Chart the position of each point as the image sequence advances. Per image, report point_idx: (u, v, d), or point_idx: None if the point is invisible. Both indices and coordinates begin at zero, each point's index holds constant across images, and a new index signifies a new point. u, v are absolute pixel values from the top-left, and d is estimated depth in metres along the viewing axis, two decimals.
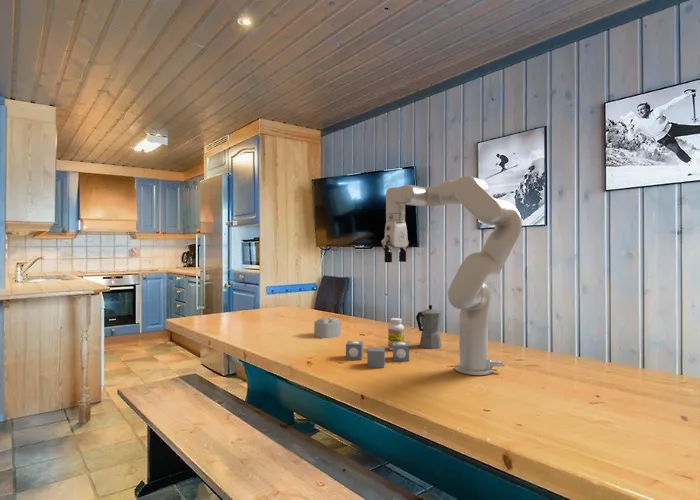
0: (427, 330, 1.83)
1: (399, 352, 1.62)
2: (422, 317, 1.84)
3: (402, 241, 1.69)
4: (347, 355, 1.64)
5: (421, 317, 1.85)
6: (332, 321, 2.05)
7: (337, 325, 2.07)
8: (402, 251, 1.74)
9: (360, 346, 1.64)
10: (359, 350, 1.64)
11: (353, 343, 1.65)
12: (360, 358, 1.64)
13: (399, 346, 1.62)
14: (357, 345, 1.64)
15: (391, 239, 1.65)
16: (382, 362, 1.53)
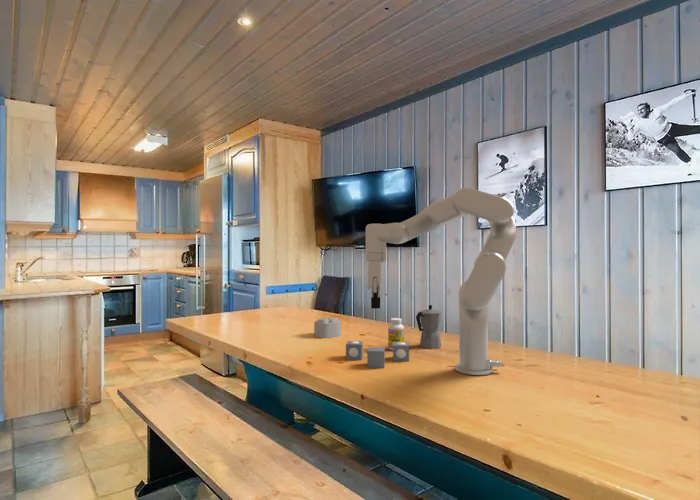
0: (427, 330, 1.83)
1: (399, 352, 1.62)
2: (422, 317, 1.84)
3: None
4: (347, 355, 1.64)
5: (421, 317, 1.85)
6: (332, 321, 2.05)
7: (337, 325, 2.07)
8: None
9: (360, 346, 1.64)
10: (359, 350, 1.64)
11: (353, 343, 1.65)
12: (360, 358, 1.64)
13: (399, 346, 1.62)
14: (357, 345, 1.64)
15: None
16: (382, 362, 1.53)
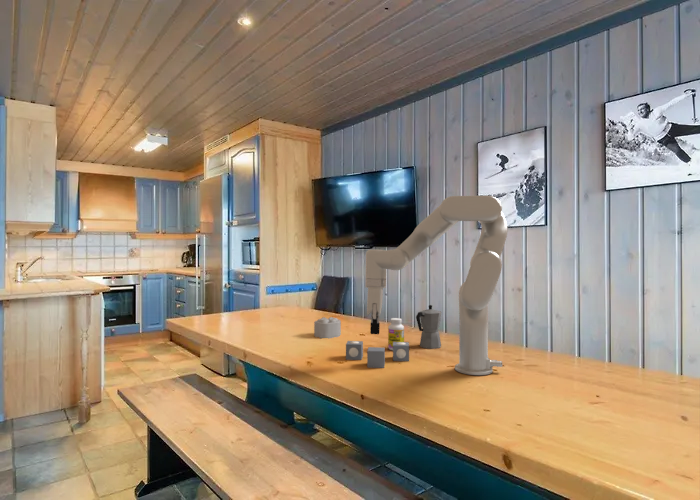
0: (427, 330, 1.83)
1: (399, 352, 1.62)
2: (422, 317, 1.84)
3: None
4: (347, 355, 1.64)
5: (421, 317, 1.85)
6: (332, 321, 2.05)
7: (337, 325, 2.07)
8: None
9: (360, 346, 1.64)
10: (359, 350, 1.64)
11: (353, 343, 1.65)
12: (360, 358, 1.64)
13: (399, 346, 1.62)
14: (357, 345, 1.64)
15: None
16: (382, 362, 1.53)
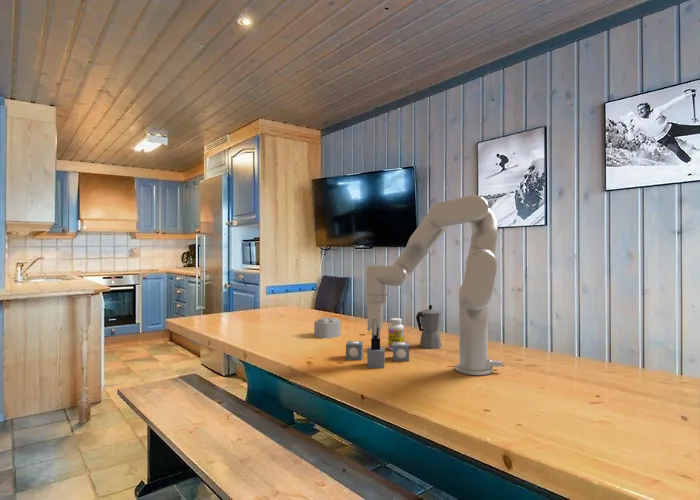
0: (427, 330, 1.83)
1: (399, 352, 1.62)
2: (422, 317, 1.84)
3: None
4: (347, 355, 1.64)
5: (421, 317, 1.85)
6: (332, 321, 2.05)
7: (337, 325, 2.07)
8: None
9: (360, 346, 1.64)
10: (359, 350, 1.64)
11: (353, 343, 1.65)
12: (360, 358, 1.64)
13: (399, 346, 1.62)
14: (357, 345, 1.64)
15: None
16: (382, 362, 1.53)
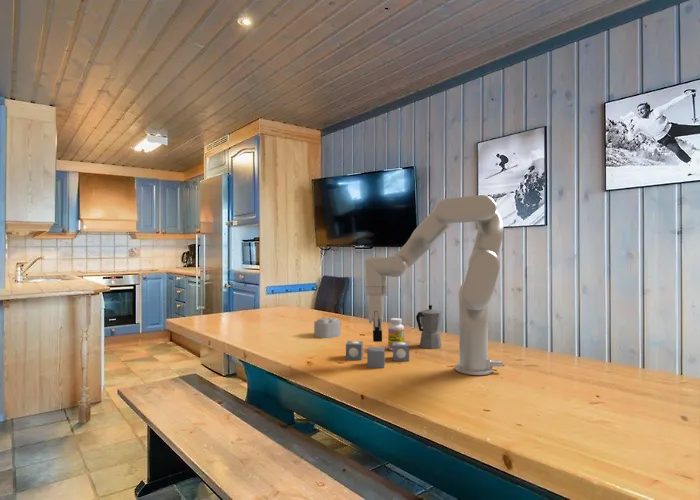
0: (427, 330, 1.83)
1: (399, 352, 1.62)
2: (422, 317, 1.84)
3: None
4: (347, 355, 1.64)
5: (421, 317, 1.85)
6: (332, 321, 2.05)
7: (337, 325, 2.07)
8: None
9: (360, 346, 1.64)
10: (359, 350, 1.64)
11: (353, 343, 1.65)
12: (360, 358, 1.64)
13: (399, 346, 1.62)
14: (357, 345, 1.64)
15: None
16: (382, 362, 1.53)
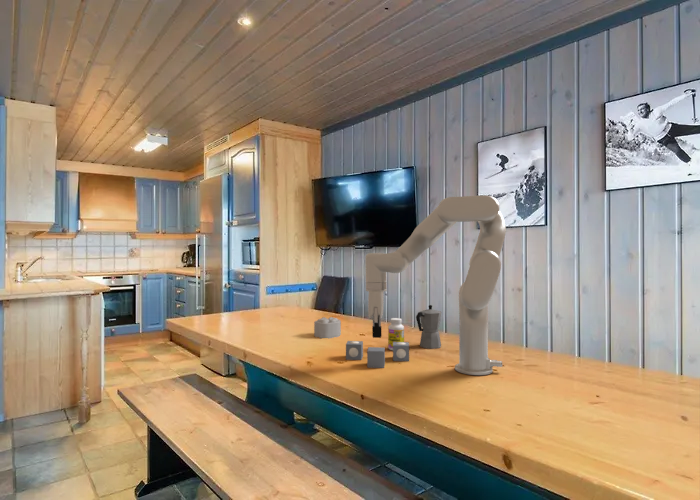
0: (427, 330, 1.83)
1: (399, 352, 1.62)
2: (422, 317, 1.84)
3: None
4: (347, 355, 1.64)
5: (421, 317, 1.85)
6: (332, 321, 2.05)
7: (337, 325, 2.07)
8: None
9: (360, 346, 1.64)
10: (359, 350, 1.64)
11: (353, 343, 1.65)
12: (360, 358, 1.64)
13: (399, 346, 1.62)
14: (357, 345, 1.64)
15: None
16: (382, 362, 1.53)
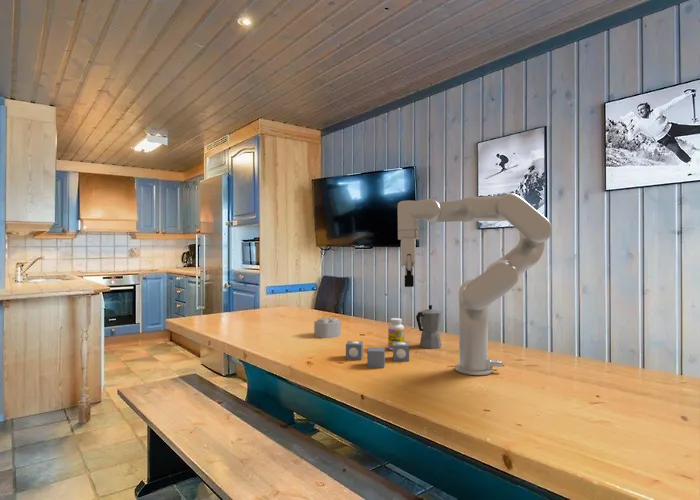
0: (427, 330, 1.83)
1: (399, 352, 1.62)
2: (422, 317, 1.84)
3: None
4: (347, 355, 1.64)
5: (421, 317, 1.85)
6: (332, 321, 2.05)
7: (337, 325, 2.07)
8: None
9: (360, 346, 1.64)
10: (359, 350, 1.64)
11: (353, 343, 1.65)
12: (360, 358, 1.64)
13: (399, 346, 1.62)
14: (357, 345, 1.64)
15: None
16: (382, 362, 1.53)
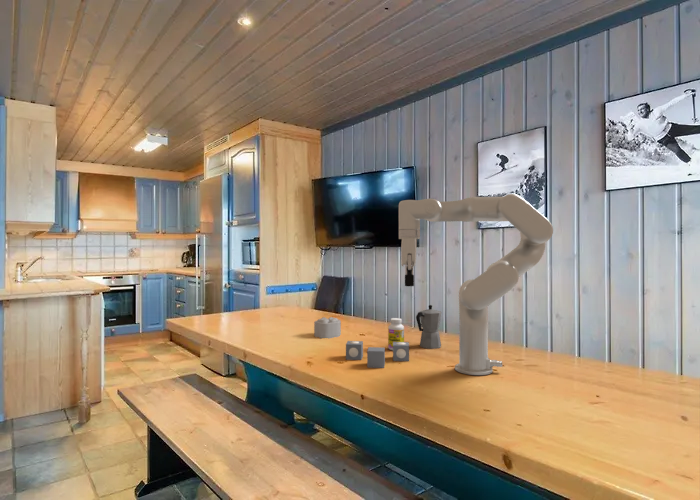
0: (427, 330, 1.83)
1: (399, 352, 1.62)
2: (422, 317, 1.84)
3: None
4: (347, 355, 1.64)
5: (421, 317, 1.85)
6: (332, 321, 2.05)
7: (337, 325, 2.07)
8: None
9: (360, 346, 1.64)
10: (359, 350, 1.64)
11: (353, 343, 1.65)
12: (360, 358, 1.64)
13: (399, 346, 1.62)
14: (357, 345, 1.64)
15: None
16: (382, 362, 1.53)
